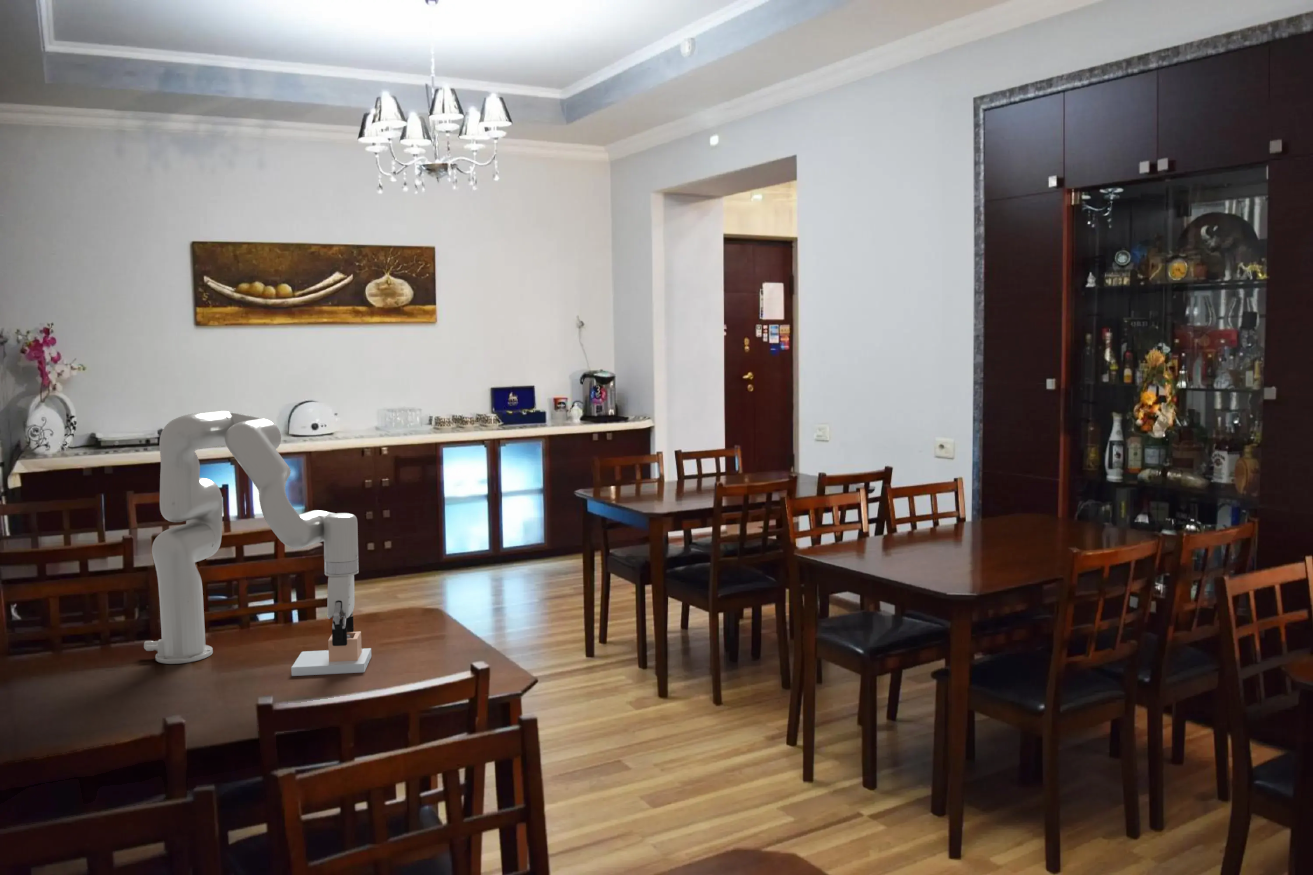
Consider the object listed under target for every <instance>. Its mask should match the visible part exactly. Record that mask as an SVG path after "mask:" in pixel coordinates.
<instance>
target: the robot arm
mask: <svg viewBox="0 0 1313 875" xmlns="http://www.w3.org/2000/svg"><path fill="white" fill-rule="evenodd" d="M281 442H282V435H281V431H280V429H279V427H278V426H277V425H276V424H275V423H274V422H272V421H271V420H270V419H267V418H263V417H259V416H254V415H249V414H244V413H238V412H233V411H228V410H213V411H212V410H211V411H203V412H194V413H190V414H189V413H188V414H185V415H180V416H178V417H176V418H173V419H172V420H170V421H169V422H168V423H167V424H166V425H165V426H164V427H163V429H162V431H161V432H160V436H159V455H160V472H159V473H160V474H159V476H160V478H159V511H160V513H161V514H160V515H162V517H163V518H164V519H165V520H167V521H168V522H172V523H183V522H185V524H182V525H178V526H174V527H171V528H170V527H169V528H167V529H166V530H164V531H162V532H160V533H159V534H158V535H157V536H156V537H155V539H154V540H153V542H152V546H151V554H152V558H153V559H152V560H153V563H154V566H155V571H156V576H157V584H158V597H159V611H160V612H159V613H160V617H159V618H160V628H161V629H160V630H161V633H160V634H161V639H158V640H155V641H154V640H145V641H144V643H143V648H144V650H145V651H146V652H153V651H156V652H157V653H156V654H155V661H156V662H158V663H160V664H166V665H167V664H168V665H179V664H186V663H187V664H188V663H194V662H198V661H202V660H204V659H206V658H208V657H210V656H211V655H212V654H213V653H214V650H213V647H212V646H210V645H208V644H206V628H205V613H204V612H205V611H204V609H205V608H204V607H205V606H204V595H203V593H204V591H203V581H202V577H201V574H200V572H199V570H198V567H197V566H196V563H197V562H201V561H203V560H205V559H208V558H210V557H212V556H214V555H215V554H216V553H217V552H218V550H219V549H220V547H221V543H222V537H223V535H222V534H223V508H224V506H223V505H224V504H223V496H222V495H223V494H222V491H221V489H220V487H219V486H218V484H217V483H216V482H214V481H213V480H211V479H209V478H206V477H201V476H200V475H201V465H200V460H199V457H198V455H197V453H196V451H197V450H202V449H209V448H216V447H222V446H223V447H225V446H226V447H227V449H228V451H229V453H230V454H232V456H233V458H234V459H235V460H236V461H237V463H238V464H239V465H240V467H241V468H242V469H243V471H244V473H245V474H246V475H247V476H248V478H249V479H250V481H251V482H252V484H254V486H255V487H256V488H257V490H258V500H259V505H260V510H261V512H262V513H261V514H262V517H263V519H264V521H265V522H266V523H267V525H268V526H269V528H270V530H272V532H273V533H274V534H275V536H276V537H277V539H279V541H280V542H281V543H283V545H285V546H286V547H288V548H290V549H294V550H300V549H303V548H307V547H310V546H312V545H315V544H318V543H319V544H320V543H322V542H323V560H324V575H325V576H326V577H328V579H327V595H326V596H327V598H326V600H327V602H326V603H327V607H326V609H327V610H326V611H327V612H326V616H327V619H328V620H330V619H331V618H332V624H331V625H332V626H331V635H332V645H333V646H346V645H347V632H355V630H354V629H355V628H354V625H355V624H354V616H353V615H354V608H355V603H356V602H355V575H357V574H359V535H358V534H359V533H358V532H359V531H358V530H359V529H358V528H359V527H358V518H357V516H356V515H355V514H353V513H349V512H337V513H335V512H330V511H326V510H319V509H314V510H309V511H306V512H304V513H303V512H302V513H298V512H297V510H296V509H295V508H294V507H293V505H292V504H291V502H290V500H289V498H288V496H287V493H286V484H287V481H288V479H289V477H290V476H291V473H292V472H291V467H290V466H289V465H288V463H287V462H286V461H285V459H284V458H283V457H282V456H281V454H280V453H279V451H278V450H277V449H278V448H279V447H280V444H281Z"/></svg>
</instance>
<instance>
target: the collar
mask: <svg viewBox="0 0 1313 875" xmlns="http://www.w3.org/2000/svg"><path fill="white" fill-rule="evenodd" d="M347 634H348V635H350V638H347V645H346V646H333V645H332V634H331V635H330V637H329V639H328V640H327V642H328V643H327V644H328V646H327V647H328V648H327V650H329V662H335V661H355V660H358V659H359V657H360V655H361V653H362V649H363V648H362V631H361V630H360V631H354V632H347Z"/></svg>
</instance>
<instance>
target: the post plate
mask: <svg viewBox="0 0 1313 875" xmlns="http://www.w3.org/2000/svg"><path fill="white" fill-rule="evenodd" d="M347 638H350V635H348V634H347ZM371 658H372V648H371V647H369V648H362V653H361V655H360V657H359V659H358V660H355V661H335V662H329V649H326V650H325V649H324V650H307V651H306V650H305V651H301V652H300V654H299V655H298V657H297V658H296V659H295V662H293V664H292V666H291V667H290V670H291V671H290V672H291V677H297V676H298V677H299V676H314V675H315V676H316V675H317V676H318V675H336V674H338V675H339V674H353V673H355V674H356V673H357V674H358V673H365V672H366V670H367V667H368V665H369V662H370V661H371Z"/></svg>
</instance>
